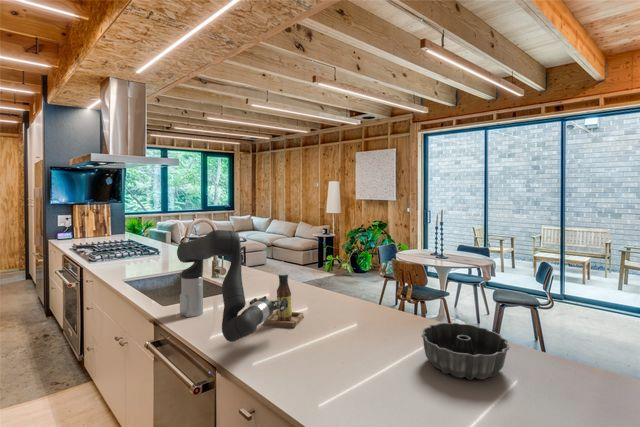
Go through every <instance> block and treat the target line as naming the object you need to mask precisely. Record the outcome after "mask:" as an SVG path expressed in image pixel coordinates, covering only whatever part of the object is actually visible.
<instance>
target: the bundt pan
mask: <svg viewBox="0 0 640 427" xmlns="http://www.w3.org/2000/svg"><path fill="white" fill-rule="evenodd" d="M421 337H422V340H423V348H424V353H425V356H426V358H427V360H428V361H429V362H430V363H431V364H432V366H433V367H435V368H437V369H438V370H441V372H442V373H443V374H446V375H448V373H449V374H451V375H452V376H453V377H455V378H464V377H465V378H466V379H467V380H469V381H471V380H473V379H476V380H477V379H478V380H484V379H487V378H493V377H496V376H497V375H498V374H499V372H500V371H501V370H502V369H503V367H504V364H505V360H506V358H507V352H508V351H509V350H510V344H509V343H508V341H509V340H508V339H505V338H503V336H502V335H501V334H500V333H497V332H495V331H492V330H489V329H488V328H485V327H479V326H476V325H473V324H467V323H459V322H458V323H457V322H452V323H450V322H449V323H448V322H440V323H436V324H430V325H428V327H425V328H423V329H422V334H421Z"/></svg>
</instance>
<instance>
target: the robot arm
mask: <svg viewBox="0 0 640 427" xmlns="http://www.w3.org/2000/svg"><path fill="white" fill-rule="evenodd" d="M176 255H177V256H176V257H177V259H178V260H179V261H180V262H181V263H192V265H191V266H189V267H187V268H185V269H183V270H181V274H180V275H181V277H180V278H181V280H180V281H181V285H180V286H181V293H179V315H180V316H183V317H185V318H191V317H197V316H201V315H203V313H204V288H203V286H204V285H203V284H204V282H203V281H204V280H203V278H204V277H203V273H204V260H207V259H211V258H212V257H215V256H221V257H223V256H224V257H225V256H226V257H230V265H229V269H228V271H227V272H226V274H225V277H224V279H223V281H222V284H221V294H222V300H223V312H222V321H221V333H222V335H223V337H224V339H225V340H226V341H228V342H230V343H231V342H232V343H233V342H236V341H238V340H240V339H243V338H246V337H248V336H250V335H251V334H253V333H254V332H256V330H257V327H258V326H259V325H260V324H262V323H264V321H265V320H266V319H267V318H269V317H270V316H271V315H272V313H273V312H274V311H276V310H277V309H280V311H281V312H282V311H284V310H285V309H287V308H288V301H287V299H286V298H283V299H282V300H280V301H279V300H277V299H274V300H270V299H267V296H263V297H260V298H256V297H255V298H253V299H251V300H250V301H249V304H248V305H249V306H248V307H247V308H246V309H244V308H245V306H246V303H247V302H246V297H245V292H244V287H243V278H242V277H243V275H242V246H241V238H240V236H239V232H237V231H235V230H226V229H224V230H222V229H215V230H212V231H210V232H208V233H207V234H205V235H203V236H201V237H197V238H195V239H192V240H191V241H186V242H181V243H179V245H178V247H177V250H176ZM280 303H281V304H280ZM243 309H244V310H243ZM242 310H243V311H242ZM240 311H242V312H241V313H239V312H240ZM238 314H239V315H238Z"/></svg>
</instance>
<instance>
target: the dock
mask: <svg viewBox="0 0 640 427" xmlns="http://www.w3.org/2000/svg"><path fill="white" fill-rule="evenodd" d="M291 316H292V317H291V319H290V320H288V321H281V320H278V315H277V310H274V311H273V313H272V315H271V316H270V317H269V318H267V319H266V320H265V321H264V322H262V323H263V324H262V325H263V326H269V327H270V326H271V327H279V328H287V329H290V328H291V329H295V328H296V327H297V326H298V325H299V324H300V323H301V322H302V320H304V318H305V315H304V312H296V311H292V315H291Z"/></svg>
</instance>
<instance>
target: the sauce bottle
mask: <svg viewBox="0 0 640 427" xmlns="http://www.w3.org/2000/svg"><path fill="white" fill-rule="evenodd" d="M288 278H289V274H288V273H283V272H282V273H279V274H278V282H279V283H278V284H279V285H278V287H277V290H276V300H279V301H280V300H282V299H283V298H286V299H287V301H288V308H287V309H285V310H284V311H282V312H281V311H280V309H277V315H278V320H281V321H288V320H290V319H291V317H292V316H291V315H292V312H293V311H292V308H293V306H292V292H291V289H290V285H289V282H288V281H289V279H288ZM280 304H281V303H280Z"/></svg>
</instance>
